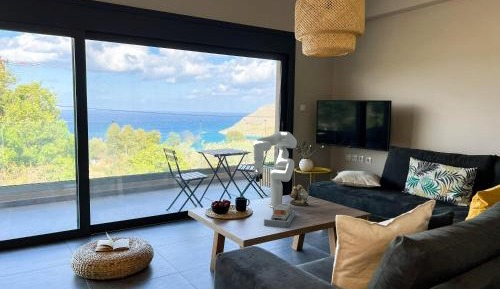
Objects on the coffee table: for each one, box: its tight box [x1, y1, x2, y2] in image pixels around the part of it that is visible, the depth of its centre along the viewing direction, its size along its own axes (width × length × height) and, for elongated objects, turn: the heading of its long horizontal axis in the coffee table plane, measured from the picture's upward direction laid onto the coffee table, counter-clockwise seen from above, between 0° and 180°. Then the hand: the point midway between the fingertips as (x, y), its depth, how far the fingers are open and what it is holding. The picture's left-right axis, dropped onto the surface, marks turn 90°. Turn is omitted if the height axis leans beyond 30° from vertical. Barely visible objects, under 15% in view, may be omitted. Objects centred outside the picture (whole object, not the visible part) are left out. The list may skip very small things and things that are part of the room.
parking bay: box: [263, 208, 296, 229], centre depth 273 cm, size 32×17×4 cm, turn 165°
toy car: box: [270, 203, 293, 221], centre depth 273 cm, size 11×25×10 cm, turn 161°
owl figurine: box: [288, 184, 309, 207], centre depth 318 cm, size 18×12×17 cm, turn 55°
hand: (259, 180), depth 284 cm, fingers open, 9 cm apart
